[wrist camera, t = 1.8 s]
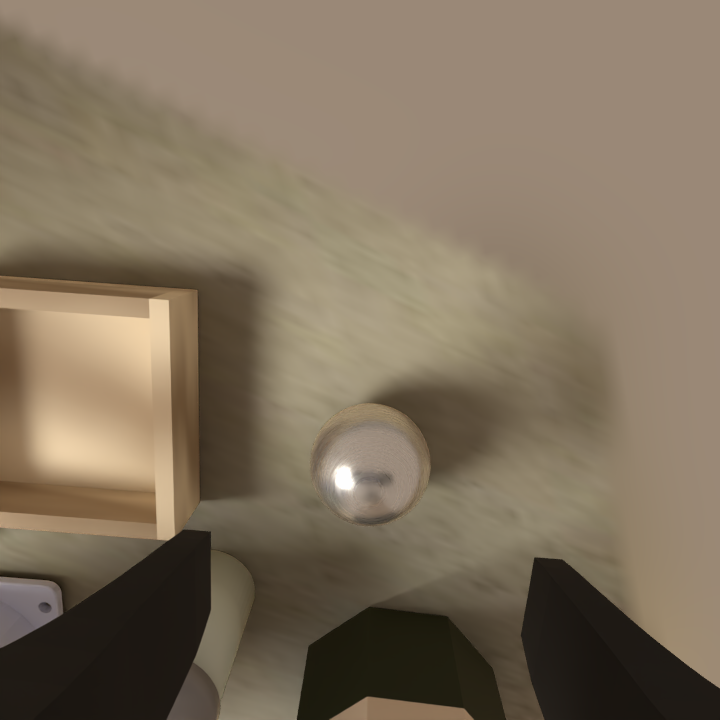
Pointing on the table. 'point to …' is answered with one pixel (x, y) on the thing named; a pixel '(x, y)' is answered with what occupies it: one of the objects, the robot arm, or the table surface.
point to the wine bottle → (397, 672)
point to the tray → (98, 407)
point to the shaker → (217, 640)
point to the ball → (370, 464)
